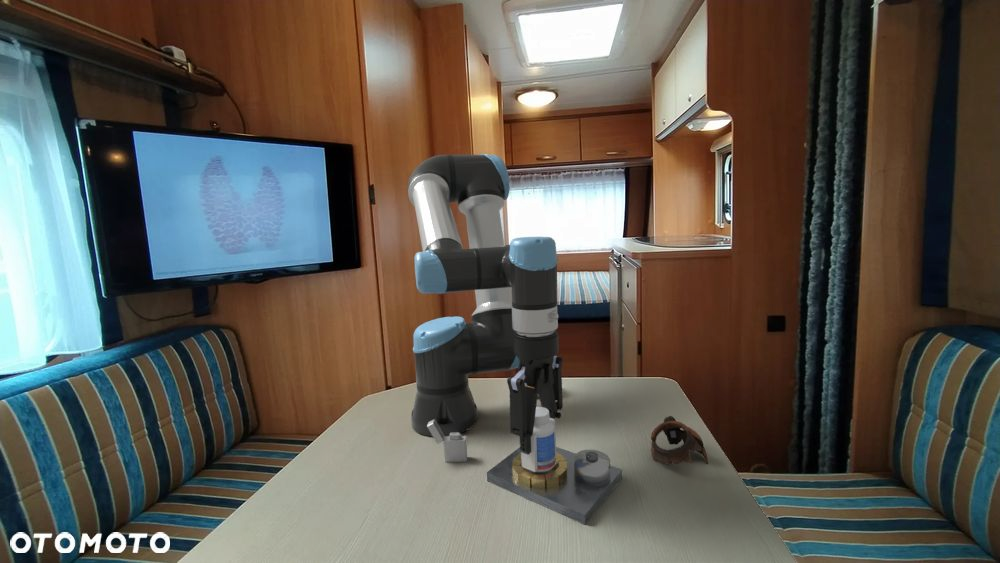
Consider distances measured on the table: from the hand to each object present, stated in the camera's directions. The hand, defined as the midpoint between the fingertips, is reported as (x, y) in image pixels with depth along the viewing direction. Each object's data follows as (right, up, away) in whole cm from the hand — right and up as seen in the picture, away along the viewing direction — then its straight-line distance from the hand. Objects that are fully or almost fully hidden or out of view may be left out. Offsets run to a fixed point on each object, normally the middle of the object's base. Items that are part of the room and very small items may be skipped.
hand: (539, 459), depth 75 cm
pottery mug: (+26, -2, +6) cm, 27 cm away
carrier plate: (+3, -4, 0) cm, 5 cm away
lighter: (-17, -3, +8) cm, 19 cm away
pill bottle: (0, -1, 0) cm, 1 cm away
